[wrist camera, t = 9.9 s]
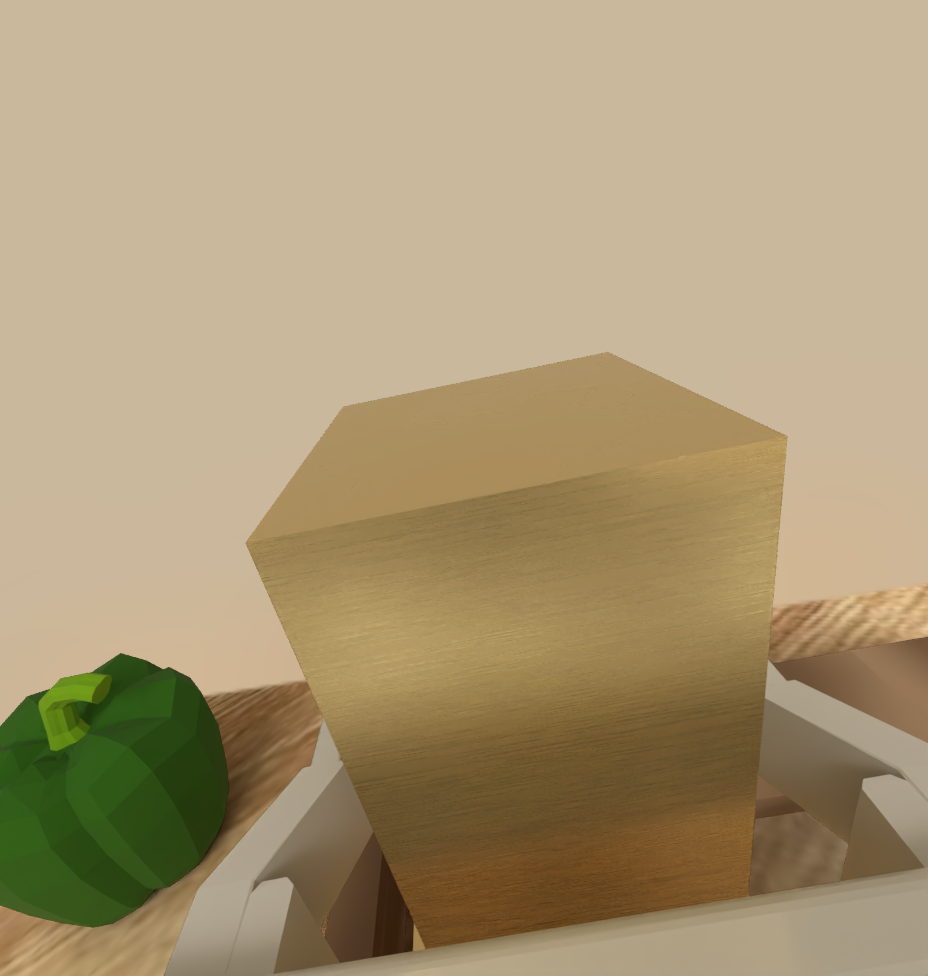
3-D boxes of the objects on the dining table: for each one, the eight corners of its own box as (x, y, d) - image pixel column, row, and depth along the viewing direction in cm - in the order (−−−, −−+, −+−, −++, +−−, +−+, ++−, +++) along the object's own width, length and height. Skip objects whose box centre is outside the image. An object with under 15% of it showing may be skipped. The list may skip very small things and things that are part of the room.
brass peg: (422, 1245, 9) (-61, 703, 3) (429, 805, 16) (288, 403, 10) (865, 1183, 9) (1205, 464, 3) (668, 763, 16) (656, 326, 10)
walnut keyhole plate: (264, 1828, 7) (161, 1903, 6) (380, 788, 22) (359, 735, 20) (2148, 1632, 6) (2568, 1659, 5) (963, 689, 21) (984, 626, 20)
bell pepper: (3, 913, 20) (-173, 751, 16) (180, 741, 26) (88, 595, 22) (114, 1025, 16) (-80, 849, 12) (290, 792, 23) (204, 625, 18)
